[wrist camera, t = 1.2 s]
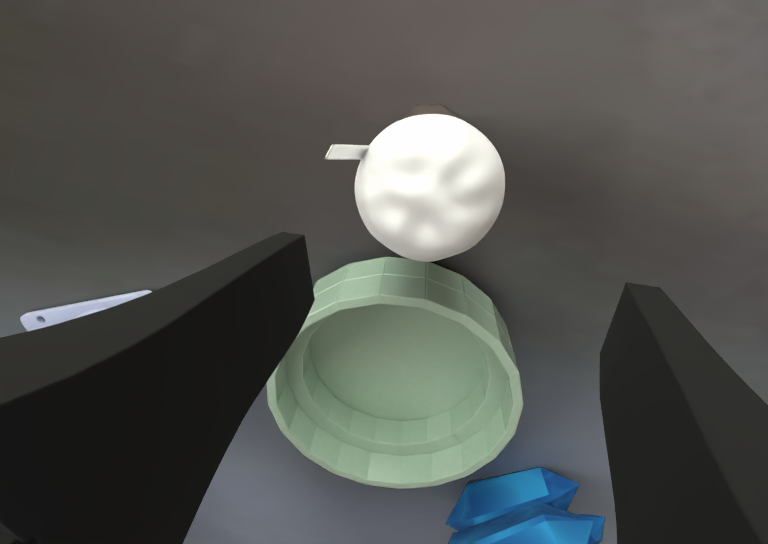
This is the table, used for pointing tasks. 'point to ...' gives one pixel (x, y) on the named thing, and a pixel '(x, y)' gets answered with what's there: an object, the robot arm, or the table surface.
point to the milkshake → (427, 184)
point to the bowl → (398, 376)
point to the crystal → (522, 512)
